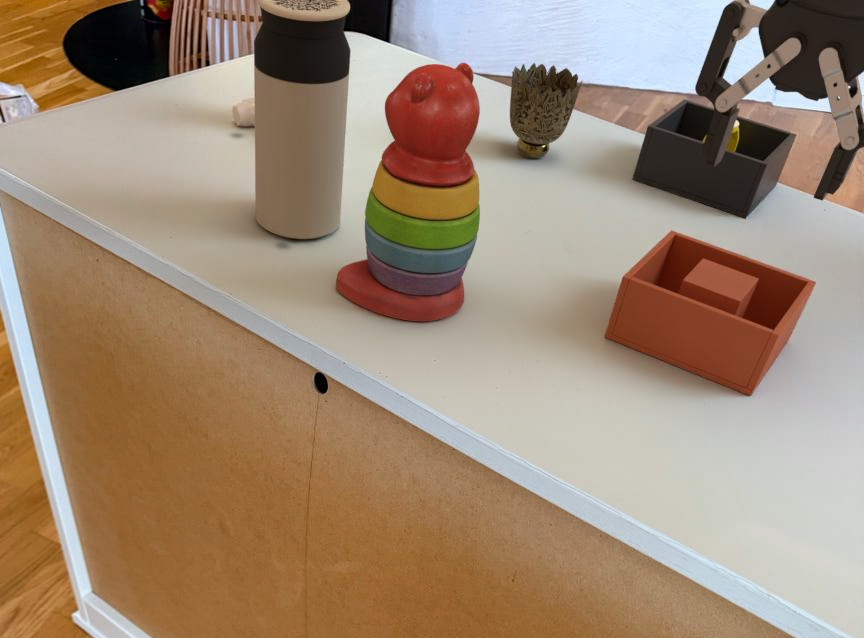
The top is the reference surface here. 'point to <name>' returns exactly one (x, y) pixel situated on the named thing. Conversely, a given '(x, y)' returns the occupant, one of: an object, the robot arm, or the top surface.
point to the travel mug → (300, 115)
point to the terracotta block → (719, 287)
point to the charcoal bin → (686, 164)
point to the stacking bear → (421, 201)
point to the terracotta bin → (706, 314)
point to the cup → (541, 107)
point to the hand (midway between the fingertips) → (765, 179)
